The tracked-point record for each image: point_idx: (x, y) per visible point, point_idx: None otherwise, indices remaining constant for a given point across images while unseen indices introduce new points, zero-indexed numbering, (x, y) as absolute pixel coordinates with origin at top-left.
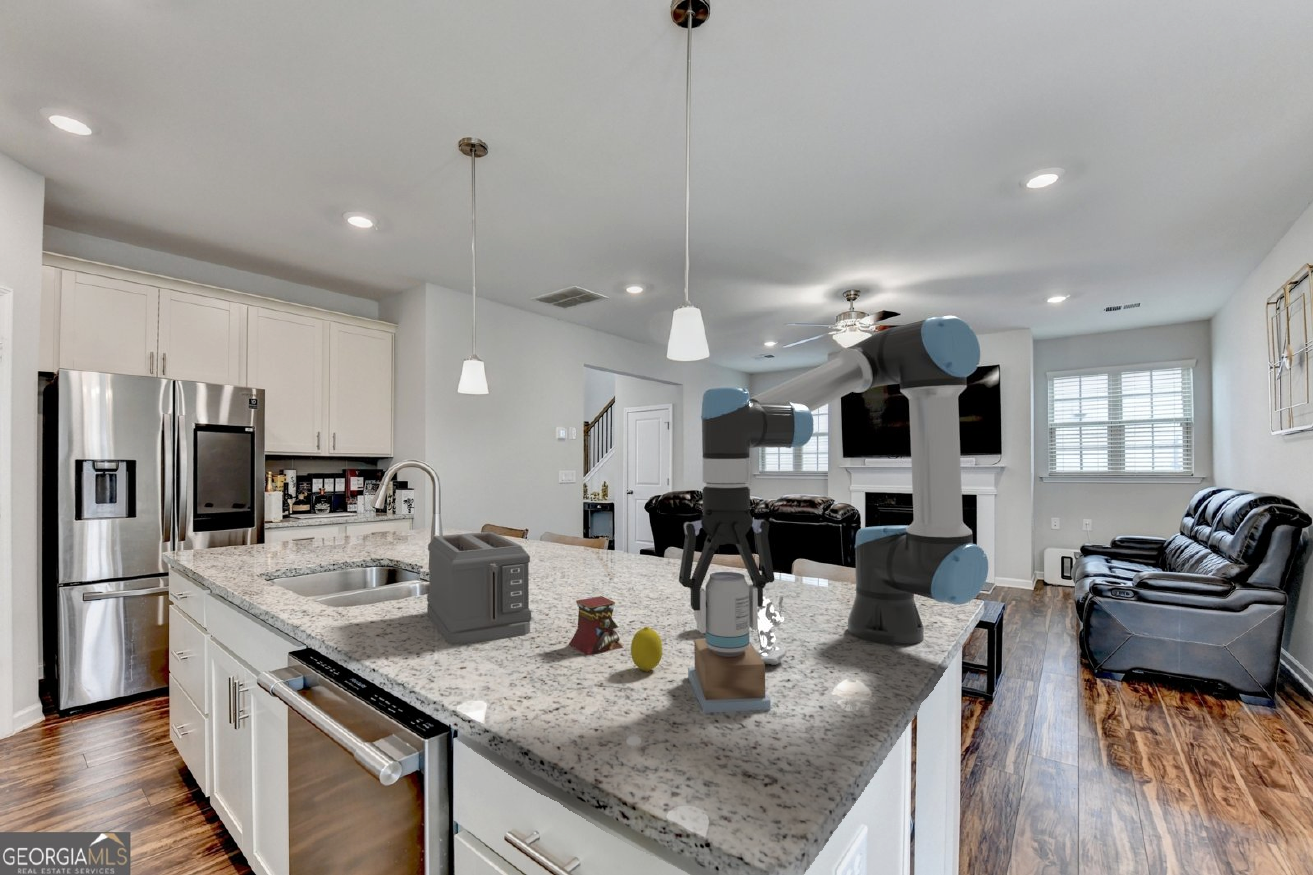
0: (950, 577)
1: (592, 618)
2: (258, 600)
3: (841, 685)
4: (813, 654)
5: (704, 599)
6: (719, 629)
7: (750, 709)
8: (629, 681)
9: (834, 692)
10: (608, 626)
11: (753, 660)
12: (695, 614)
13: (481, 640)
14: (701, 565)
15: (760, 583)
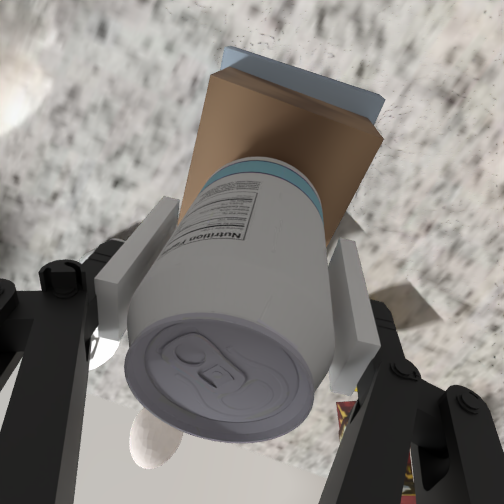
0: None
1: (409, 470)
2: None
3: (16, 112)
4: (24, 258)
5: (356, 314)
6: (311, 210)
7: (275, 61)
8: (407, 300)
9: (44, 87)
10: None
11: (228, 118)
12: (182, 433)
13: None
14: (403, 485)
15: (64, 289)
